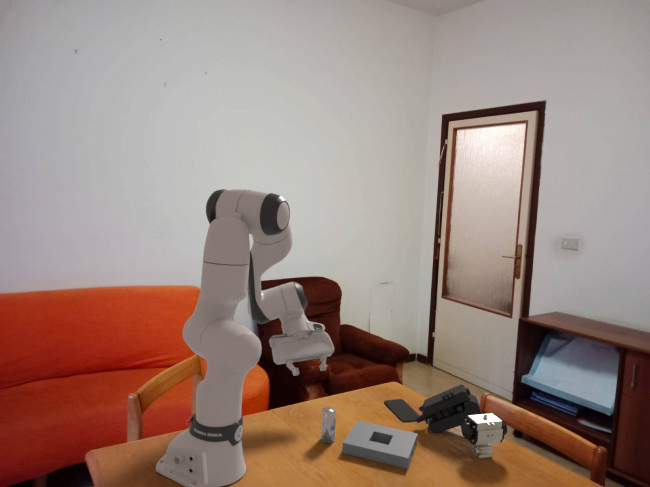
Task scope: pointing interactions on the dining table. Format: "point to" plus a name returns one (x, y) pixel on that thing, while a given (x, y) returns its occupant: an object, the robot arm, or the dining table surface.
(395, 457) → the socket plate
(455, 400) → the tool
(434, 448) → the dining table surface
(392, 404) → the phone
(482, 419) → the pneumatic valve
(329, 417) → the steel pin
